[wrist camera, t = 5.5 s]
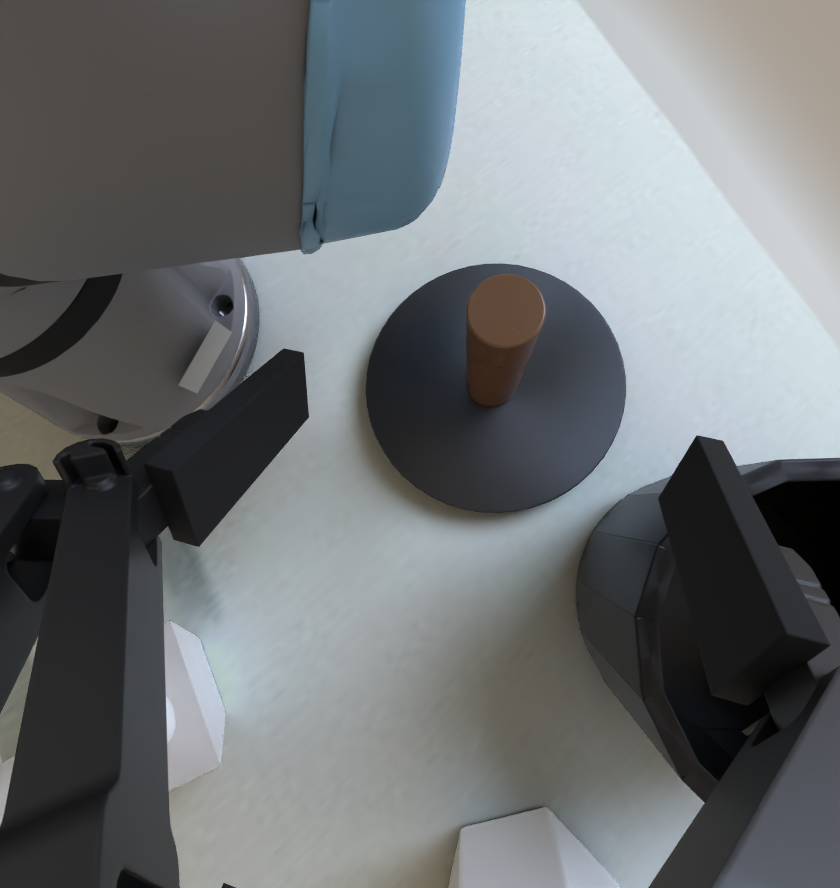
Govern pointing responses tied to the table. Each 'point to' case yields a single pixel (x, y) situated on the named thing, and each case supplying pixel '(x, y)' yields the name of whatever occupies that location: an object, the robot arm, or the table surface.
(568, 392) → the lid
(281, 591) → the table surface
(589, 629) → the pot
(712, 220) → the table surface
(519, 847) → the jar
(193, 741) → the figurine
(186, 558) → the table surface
